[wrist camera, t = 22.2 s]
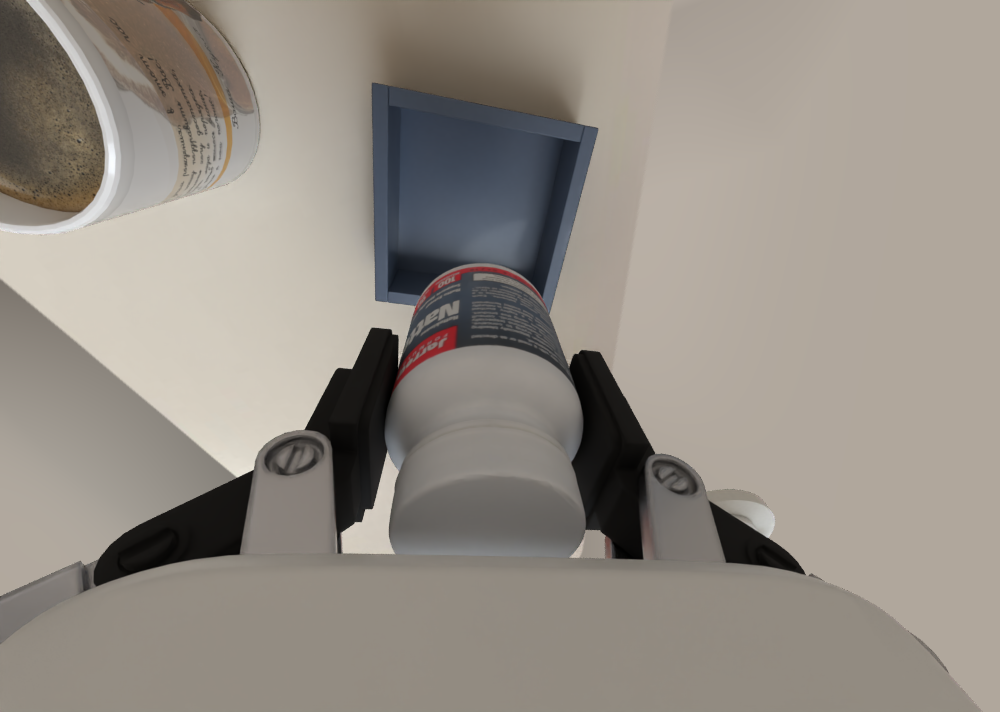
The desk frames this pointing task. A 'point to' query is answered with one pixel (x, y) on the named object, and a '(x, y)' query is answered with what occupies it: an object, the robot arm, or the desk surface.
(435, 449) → the pill bottle
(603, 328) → the desk surface
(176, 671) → the robot arm
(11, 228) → the mug
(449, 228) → the slate bin
